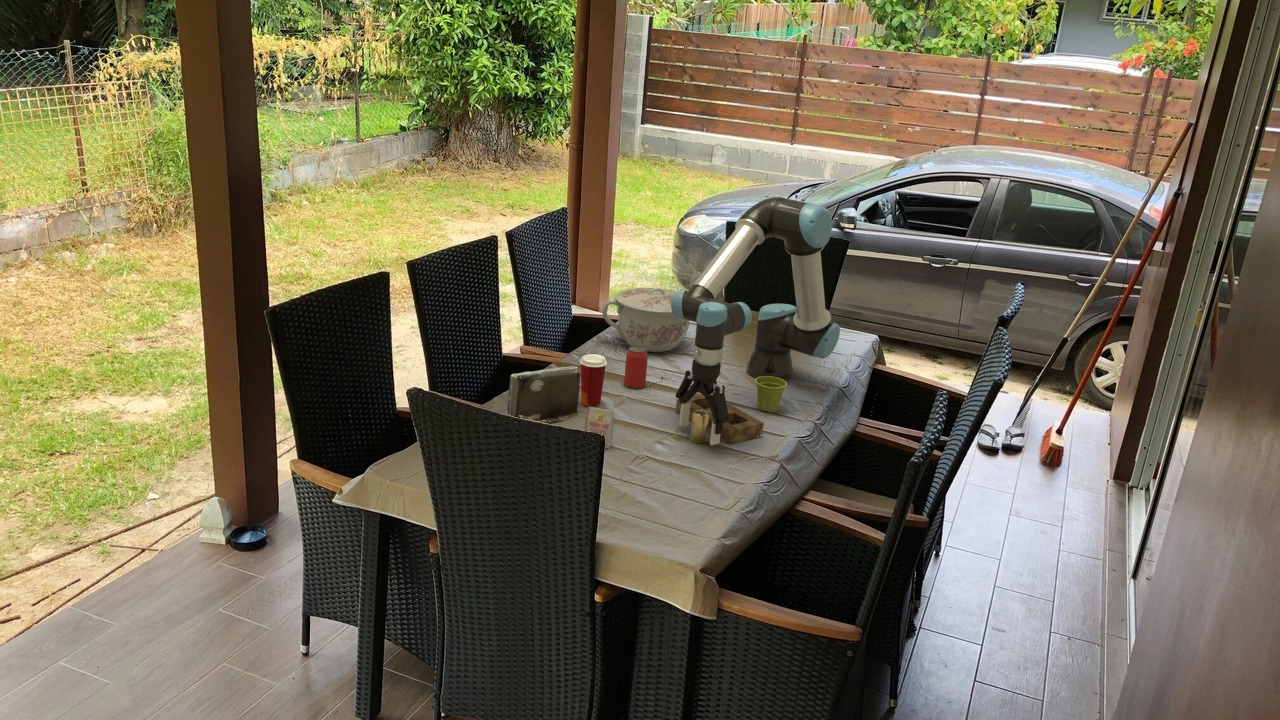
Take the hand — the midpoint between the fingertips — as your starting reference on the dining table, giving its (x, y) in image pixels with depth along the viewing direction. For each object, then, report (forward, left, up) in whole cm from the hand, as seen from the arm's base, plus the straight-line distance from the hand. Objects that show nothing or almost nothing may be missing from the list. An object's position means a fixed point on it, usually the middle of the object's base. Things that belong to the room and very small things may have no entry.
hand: (698, 434), depth 263 cm
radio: (+31, -31, -2) cm, 44 cm away
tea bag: (+26, -10, -2) cm, 28 cm away
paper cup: (+13, -34, -2) cm, 36 cm away
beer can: (-7, -40, -2) cm, 41 cm away
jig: (-12, -6, -2) cm, 14 cm away
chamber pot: (-34, -68, -2) cm, 76 cm away
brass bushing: (0, 0, -2) cm, 2 cm away
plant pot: (-33, -8, -2) cm, 34 cm away
